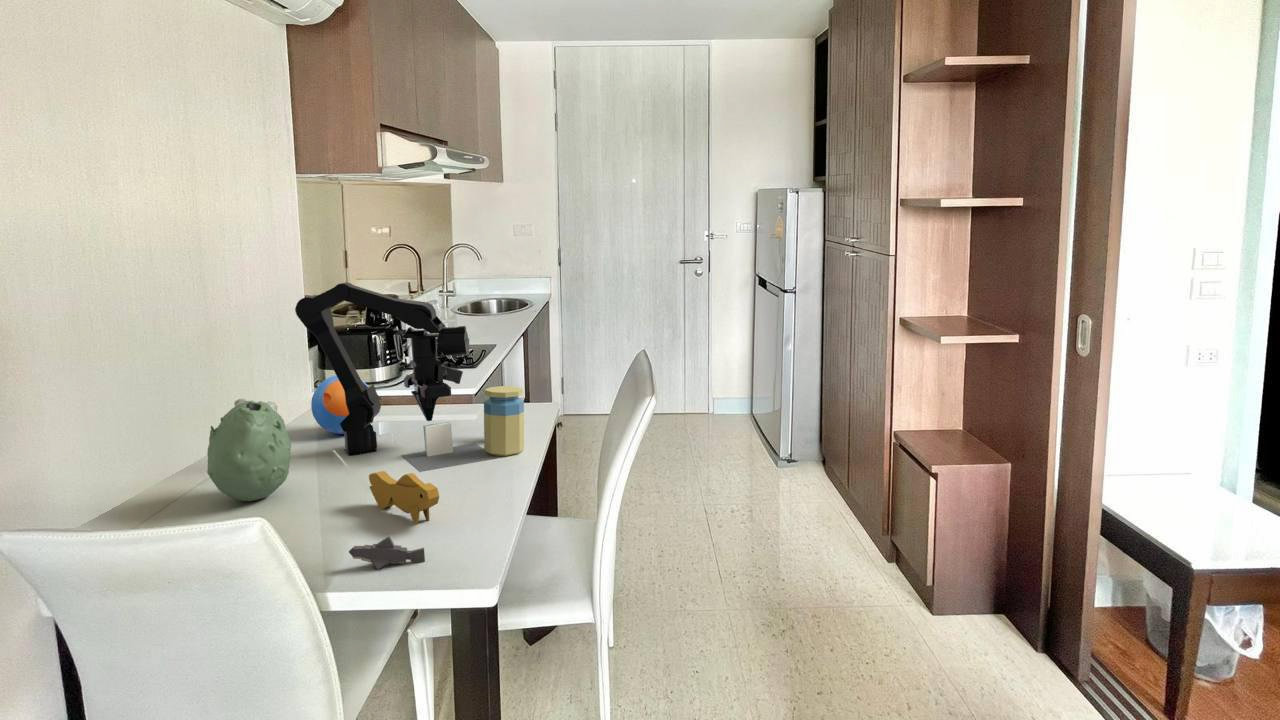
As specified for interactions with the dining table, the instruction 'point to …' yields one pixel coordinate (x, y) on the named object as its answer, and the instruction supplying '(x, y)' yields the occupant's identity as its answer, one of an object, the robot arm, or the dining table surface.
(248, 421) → the green rounded lump
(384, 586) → the dining table surface
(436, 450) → the tile
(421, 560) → the animal figurine
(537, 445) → the dining table surface
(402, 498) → the decorative fish
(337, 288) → the robot arm
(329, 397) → the treat dispenser ball
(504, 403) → the jar
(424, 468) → the mat
